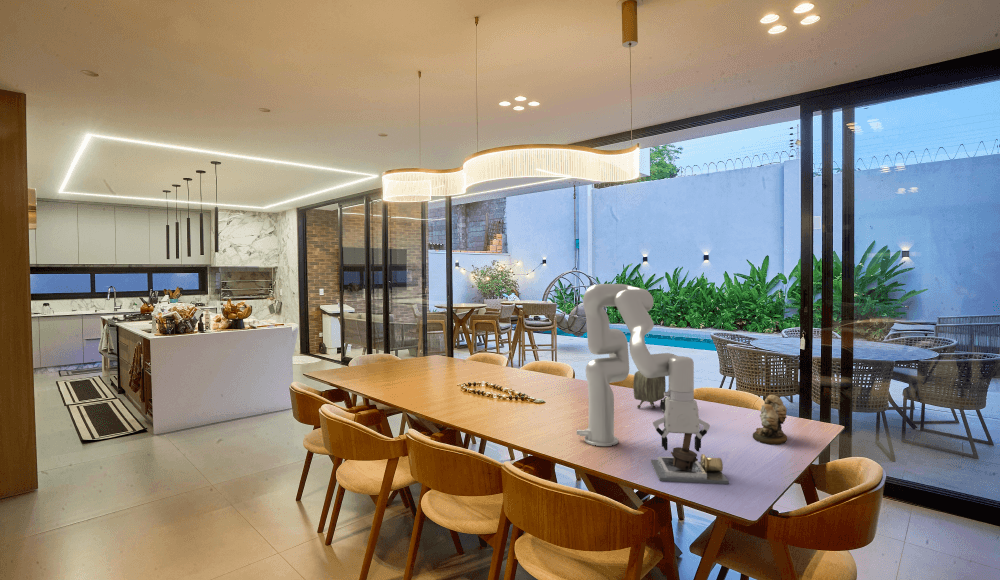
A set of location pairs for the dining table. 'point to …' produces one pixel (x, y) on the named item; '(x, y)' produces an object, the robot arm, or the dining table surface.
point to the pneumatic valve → (663, 404)
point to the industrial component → (684, 455)
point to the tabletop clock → (648, 388)
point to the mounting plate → (691, 471)
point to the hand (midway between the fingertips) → (681, 449)
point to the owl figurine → (772, 422)
